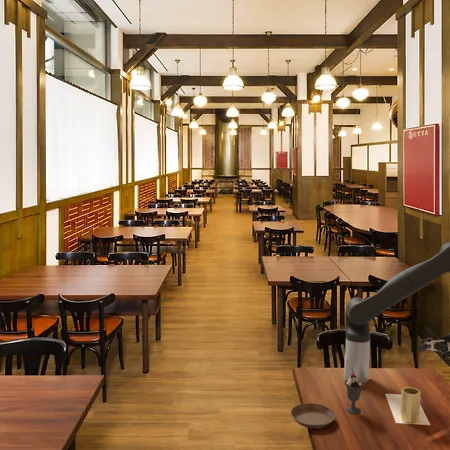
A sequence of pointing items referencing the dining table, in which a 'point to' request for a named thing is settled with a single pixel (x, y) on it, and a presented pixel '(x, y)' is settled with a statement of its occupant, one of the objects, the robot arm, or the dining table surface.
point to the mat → (395, 405)
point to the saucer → (312, 415)
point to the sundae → (353, 392)
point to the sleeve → (410, 405)
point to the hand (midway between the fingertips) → (430, 352)
